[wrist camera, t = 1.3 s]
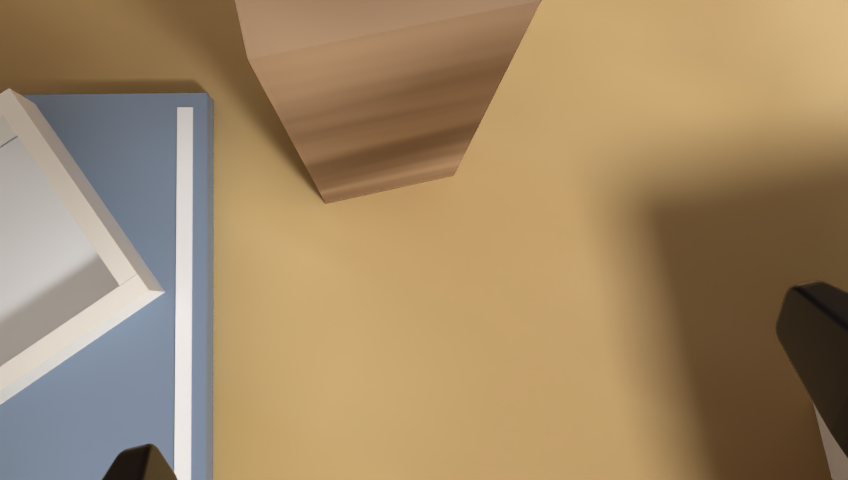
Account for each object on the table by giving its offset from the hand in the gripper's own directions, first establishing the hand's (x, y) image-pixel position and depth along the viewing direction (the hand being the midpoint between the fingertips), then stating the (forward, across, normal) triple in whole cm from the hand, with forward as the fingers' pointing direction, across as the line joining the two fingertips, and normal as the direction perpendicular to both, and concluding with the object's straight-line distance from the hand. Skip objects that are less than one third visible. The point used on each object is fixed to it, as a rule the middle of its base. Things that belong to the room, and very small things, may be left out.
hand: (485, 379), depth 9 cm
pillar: (+15, 0, +4) cm, 15 cm away
